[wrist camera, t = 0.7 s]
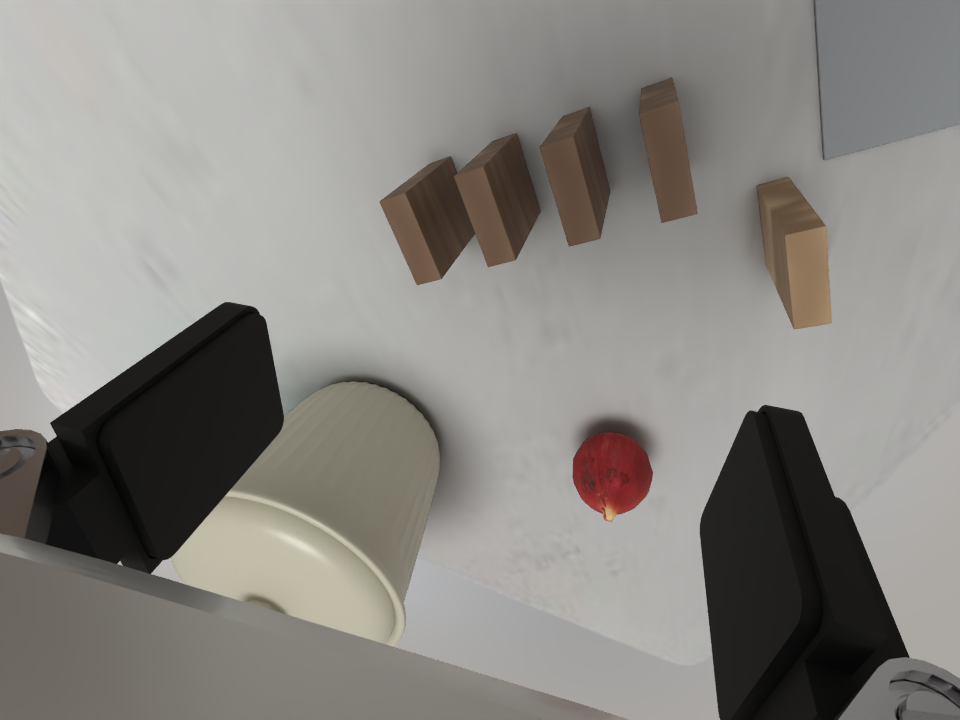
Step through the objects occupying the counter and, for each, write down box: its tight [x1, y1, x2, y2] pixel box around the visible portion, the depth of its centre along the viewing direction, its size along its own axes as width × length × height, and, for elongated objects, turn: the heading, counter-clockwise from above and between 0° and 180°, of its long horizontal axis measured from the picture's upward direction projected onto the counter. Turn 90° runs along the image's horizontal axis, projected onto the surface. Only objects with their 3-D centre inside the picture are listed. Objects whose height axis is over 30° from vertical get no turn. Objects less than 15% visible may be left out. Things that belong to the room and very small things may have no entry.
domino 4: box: [639, 78, 698, 223], centre depth 27 cm, size 2×5×8 cm, turn 21°
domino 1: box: [380, 156, 475, 285], centre depth 32 cm, size 2×5×8 cm, turn 21°
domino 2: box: [454, 133, 541, 267], centre depth 31 cm, size 2×5×8 cm, turn 21°
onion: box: [573, 432, 653, 522], centre depth 40 cm, size 6×6×8 cm
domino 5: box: [757, 177, 832, 329], centre depth 28 cm, size 2×5×8 cm, turn 21°
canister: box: [170, 381, 440, 647], centre depth 41 cm, size 18×18×21 cm
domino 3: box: [540, 107, 610, 246], centre depth 29 cm, size 2×5×8 cm, turn 21°
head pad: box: [814, 0, 960, 160], centre depth 26 cm, size 7×8×1 cm
